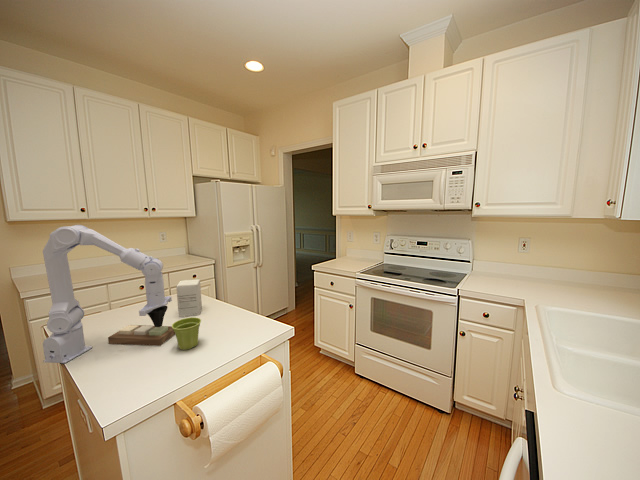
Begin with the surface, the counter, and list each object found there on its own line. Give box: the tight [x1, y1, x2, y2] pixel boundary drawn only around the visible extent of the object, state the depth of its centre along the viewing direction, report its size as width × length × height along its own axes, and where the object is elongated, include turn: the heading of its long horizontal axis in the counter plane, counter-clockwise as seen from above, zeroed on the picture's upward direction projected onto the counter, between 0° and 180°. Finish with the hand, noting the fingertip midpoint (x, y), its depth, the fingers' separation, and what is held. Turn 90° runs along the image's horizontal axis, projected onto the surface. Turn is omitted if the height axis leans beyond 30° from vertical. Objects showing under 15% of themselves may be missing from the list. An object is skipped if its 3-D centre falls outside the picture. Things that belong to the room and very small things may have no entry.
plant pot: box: [171, 316, 202, 351], centre depth 92 cm, size 9×9×9 cm
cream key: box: [118, 324, 139, 335], centre depth 99 cm, size 4×4×2 cm
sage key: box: [149, 325, 168, 336], centre depth 98 cm, size 4×4×2 cm
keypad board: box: [107, 324, 176, 347], centre depth 98 cm, size 10×20×2 cm, turn 85°
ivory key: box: [134, 325, 154, 335], centre depth 98 cm, size 4×4×2 cm
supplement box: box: [175, 278, 203, 318], centre depth 121 cm, size 9×9×15 cm
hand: (158, 326), depth 97 cm, fingers closed
